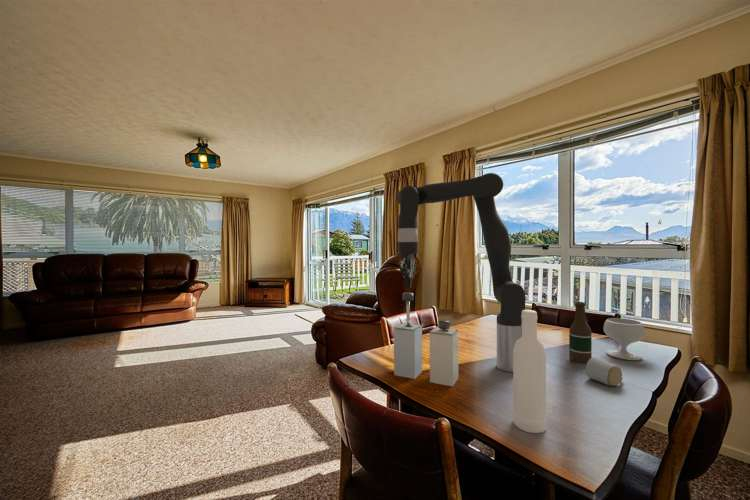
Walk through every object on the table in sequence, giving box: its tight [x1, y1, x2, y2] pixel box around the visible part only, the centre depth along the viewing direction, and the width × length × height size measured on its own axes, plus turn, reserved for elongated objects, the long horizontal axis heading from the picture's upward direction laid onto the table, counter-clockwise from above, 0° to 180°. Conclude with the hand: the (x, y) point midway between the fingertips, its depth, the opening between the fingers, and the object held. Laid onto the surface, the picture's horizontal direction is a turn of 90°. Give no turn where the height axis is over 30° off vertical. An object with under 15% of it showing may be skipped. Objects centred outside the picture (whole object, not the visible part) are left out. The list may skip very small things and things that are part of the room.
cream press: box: [429, 326, 459, 388], centre depth 112 cm, size 8×8×18 cm
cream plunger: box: [437, 319, 451, 332], centre depth 112 cm, size 6×6×15 cm
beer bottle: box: [568, 301, 593, 365], centre depth 130 cm, size 8×8×24 cm
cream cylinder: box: [585, 356, 623, 387], centre depth 110 cm, size 11×8×8 cm
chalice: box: [603, 317, 646, 361], centre depth 135 cm, size 14×14×15 cm
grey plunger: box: [402, 292, 414, 327], centre depth 118 cm, size 6×6×15 cm
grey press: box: [393, 322, 423, 380], centre depth 118 cm, size 8×8×18 cm
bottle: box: [512, 309, 547, 434], centre depth 83 cm, size 8×8×30 cm
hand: (408, 287), depth 118 cm, fingers closed
